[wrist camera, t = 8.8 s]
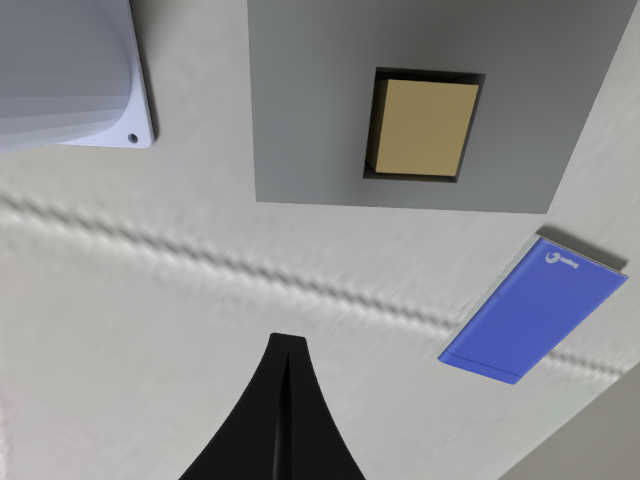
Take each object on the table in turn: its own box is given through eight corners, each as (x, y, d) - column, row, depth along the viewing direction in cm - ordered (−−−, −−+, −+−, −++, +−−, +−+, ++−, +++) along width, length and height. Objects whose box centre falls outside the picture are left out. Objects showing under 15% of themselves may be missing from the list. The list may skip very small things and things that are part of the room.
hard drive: (545, 239, 19) (439, 362, 24) (632, 279, 21) (516, 386, 26) (529, 229, 21) (432, 348, 26) (612, 267, 22) (506, 371, 27)
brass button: (365, 159, 17) (375, 171, 14) (374, 81, 15) (388, 79, 13) (432, 163, 17) (455, 175, 15) (449, 86, 16) (478, 85, 13)
